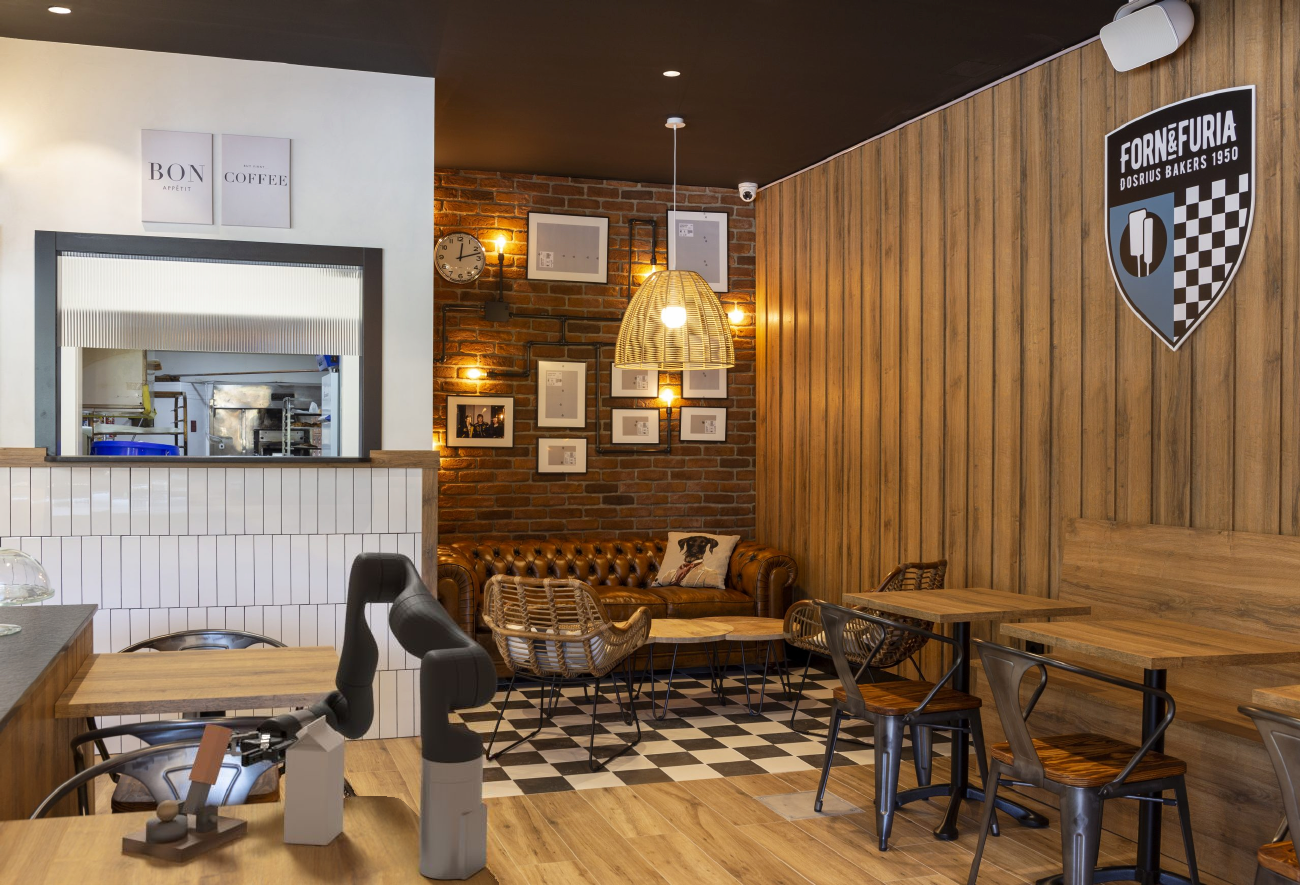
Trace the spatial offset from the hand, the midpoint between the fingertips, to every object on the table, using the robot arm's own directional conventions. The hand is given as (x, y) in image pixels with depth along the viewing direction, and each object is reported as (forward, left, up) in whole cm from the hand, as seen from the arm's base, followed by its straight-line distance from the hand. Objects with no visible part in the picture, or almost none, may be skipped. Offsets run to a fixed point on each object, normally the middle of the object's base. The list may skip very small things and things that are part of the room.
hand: (222, 757), depth 181 cm
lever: (0, +7, -7) cm, 10 cm away
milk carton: (-17, -2, -12) cm, 21 cm away
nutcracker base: (0, +8, -11) cm, 14 cm away
